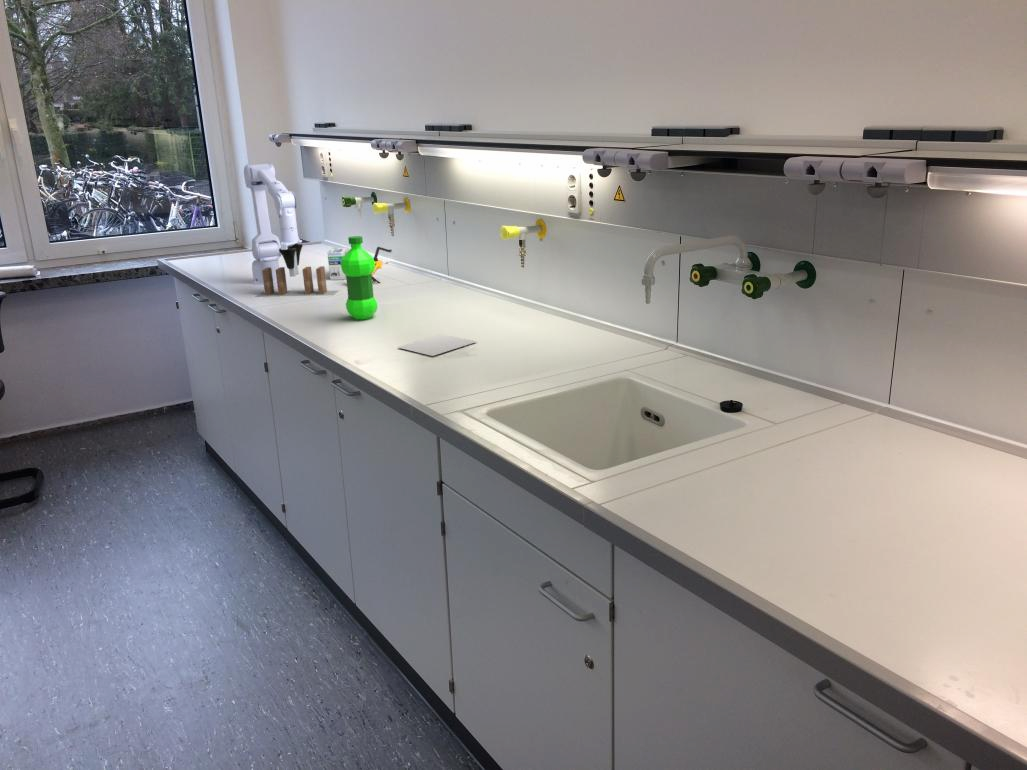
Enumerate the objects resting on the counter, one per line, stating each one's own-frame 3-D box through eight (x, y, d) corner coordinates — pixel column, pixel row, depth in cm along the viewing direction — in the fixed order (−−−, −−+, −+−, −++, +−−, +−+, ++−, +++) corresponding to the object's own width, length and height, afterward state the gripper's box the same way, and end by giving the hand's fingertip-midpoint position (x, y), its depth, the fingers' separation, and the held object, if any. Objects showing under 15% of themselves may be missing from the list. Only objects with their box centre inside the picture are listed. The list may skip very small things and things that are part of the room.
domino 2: (278, 295, 296) (275, 269, 293) (283, 292, 300) (280, 267, 298) (283, 295, 296) (279, 269, 293) (287, 292, 300) (284, 267, 297)
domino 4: (318, 294, 295) (315, 269, 292) (322, 291, 299) (319, 266, 296) (323, 294, 295) (320, 269, 292) (327, 291, 299) (324, 266, 296)
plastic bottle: (347, 323, 256) (339, 240, 248) (345, 315, 266) (337, 235, 258) (380, 319, 259) (373, 238, 251) (376, 312, 268) (370, 233, 260)
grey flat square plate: (502, 349, 225) (502, 347, 224) (434, 373, 207) (434, 370, 207) (442, 336, 240) (442, 333, 239) (373, 357, 222) (373, 354, 222)
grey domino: (298, 273, 298) (295, 248, 295) (294, 276, 293) (291, 250, 290) (294, 273, 298) (291, 248, 295) (289, 276, 293) (286, 250, 291)
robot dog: (397, 282, 313) (394, 246, 309) (351, 288, 305) (347, 251, 300) (391, 279, 318) (388, 244, 313) (346, 286, 309) (342, 249, 305)
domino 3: (305, 294, 295) (302, 269, 292) (309, 291, 300) (306, 266, 297) (309, 294, 295) (306, 269, 292) (313, 291, 300) (311, 266, 297)
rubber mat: (255, 297, 295) (255, 296, 295) (262, 292, 302) (262, 291, 302) (333, 296, 293) (333, 295, 293) (339, 291, 300) (339, 290, 300)
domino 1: (265, 295, 296) (262, 270, 293) (270, 292, 301) (266, 267, 298) (269, 295, 296) (266, 270, 293) (274, 292, 301) (271, 267, 298)
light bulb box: (347, 279, 320) (344, 251, 317) (329, 280, 320) (326, 252, 317) (351, 274, 331) (348, 246, 327) (334, 275, 330) (331, 247, 327)
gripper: (293, 230, 283) (297, 270, 288) (306, 224, 297) (310, 262, 301) (272, 231, 284) (277, 271, 288) (286, 225, 297) (291, 263, 302)
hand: (293, 267), depth 295 cm, fingers closed on grey domino, 5 cm apart
